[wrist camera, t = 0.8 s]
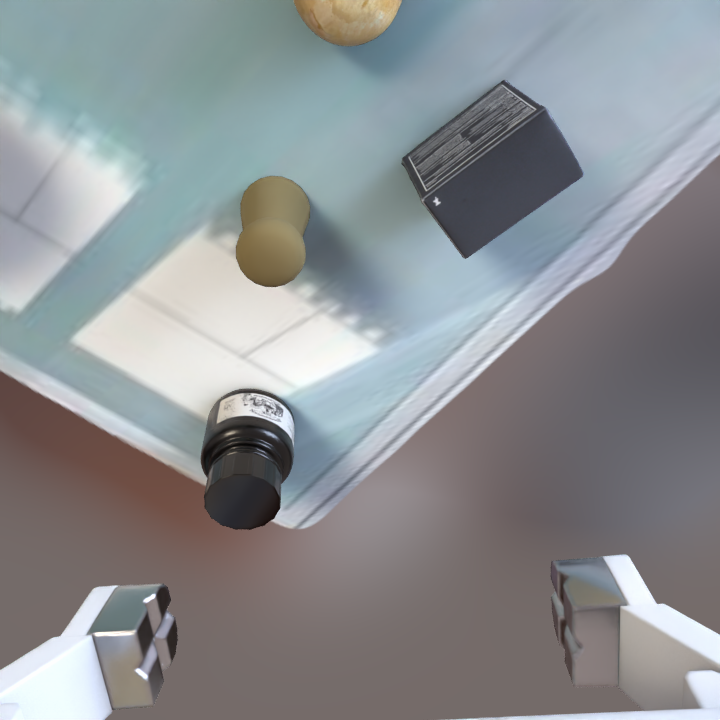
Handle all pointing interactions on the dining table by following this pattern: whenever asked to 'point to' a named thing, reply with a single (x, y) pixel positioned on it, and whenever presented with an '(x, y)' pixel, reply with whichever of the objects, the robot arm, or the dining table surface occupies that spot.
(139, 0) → the dining table surface
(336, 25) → the onion
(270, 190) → the tan pawn
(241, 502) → the ink bottle
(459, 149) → the small box
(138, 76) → the dining table surface
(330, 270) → the dining table surface
